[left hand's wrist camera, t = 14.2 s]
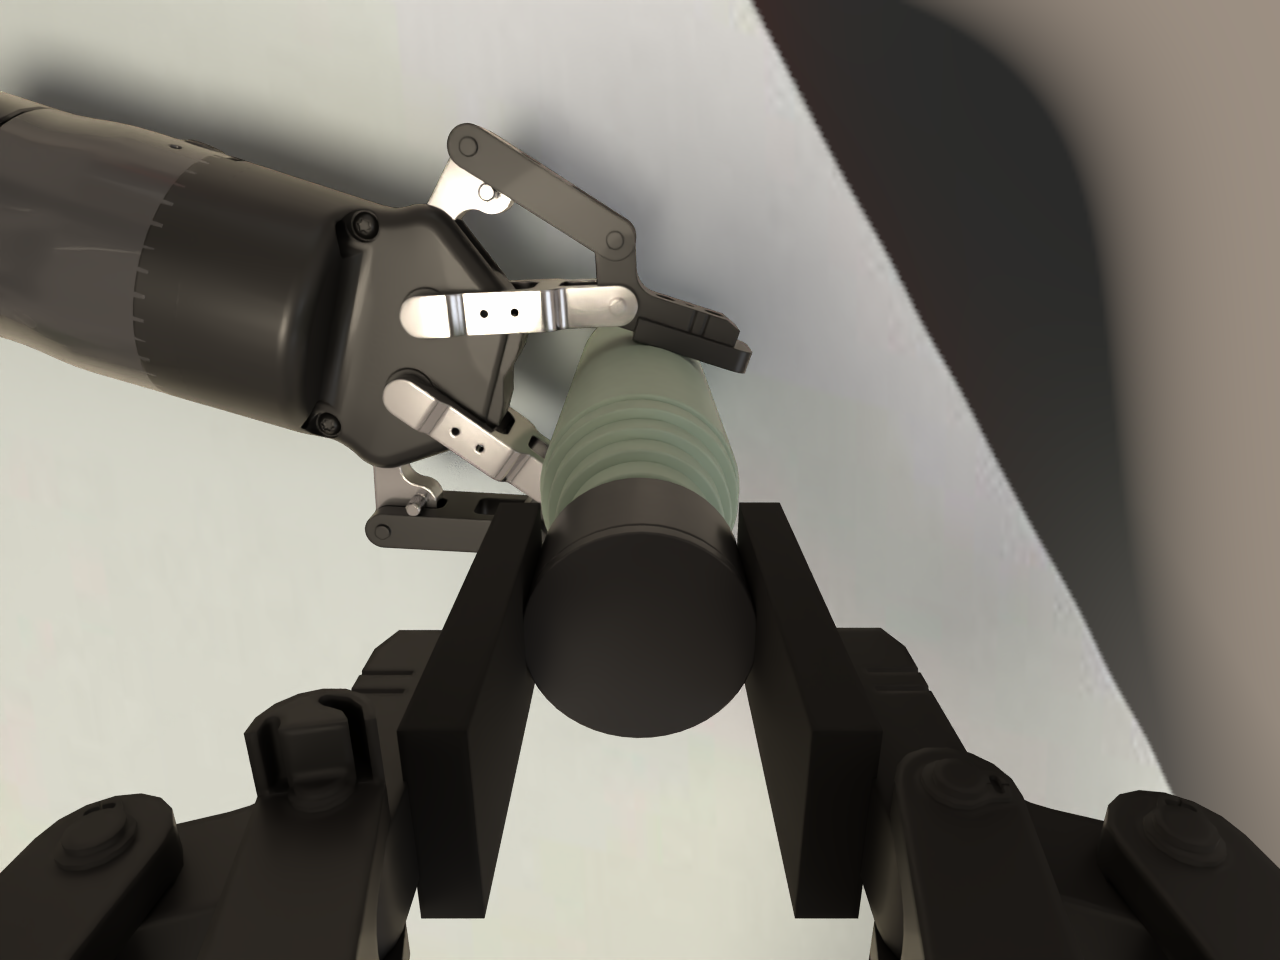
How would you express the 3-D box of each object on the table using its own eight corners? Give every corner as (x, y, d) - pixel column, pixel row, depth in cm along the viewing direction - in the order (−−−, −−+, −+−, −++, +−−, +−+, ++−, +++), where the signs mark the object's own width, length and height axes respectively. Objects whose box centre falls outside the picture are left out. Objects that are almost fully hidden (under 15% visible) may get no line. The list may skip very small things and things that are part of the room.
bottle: (718, 391, 32) (832, 671, 13) (618, 446, 33) (589, 782, 14) (662, 287, 30) (700, 435, 12) (558, 347, 31) (437, 574, 12)
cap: (623, 435, 14) (619, 484, 11) (781, 556, 15) (808, 626, 12) (500, 583, 15) (473, 656, 12) (653, 689, 16) (656, 775, 13)
